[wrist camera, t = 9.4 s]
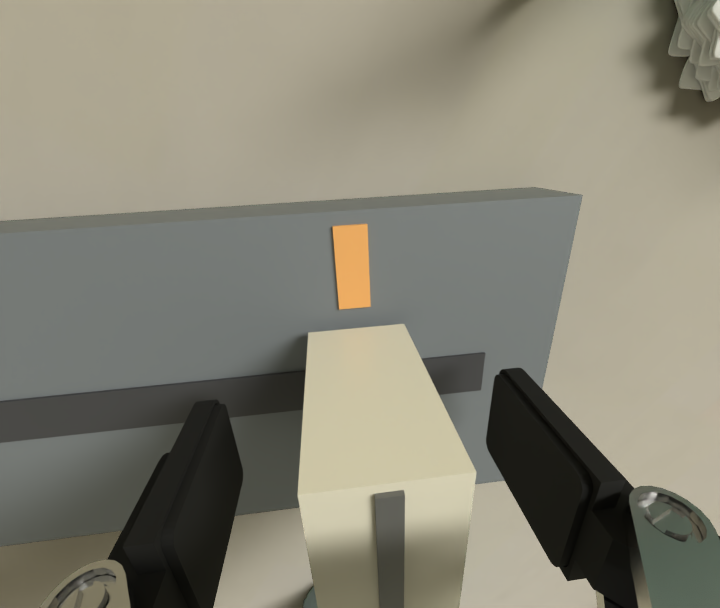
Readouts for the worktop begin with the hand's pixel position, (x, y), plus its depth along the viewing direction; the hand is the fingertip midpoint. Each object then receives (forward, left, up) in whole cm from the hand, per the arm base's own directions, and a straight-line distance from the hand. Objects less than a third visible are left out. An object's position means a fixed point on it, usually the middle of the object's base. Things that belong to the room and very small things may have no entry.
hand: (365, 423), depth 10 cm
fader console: (0, -8, -4) cm, 9 cm away
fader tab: (0, 0, -1) cm, 1 cm away
